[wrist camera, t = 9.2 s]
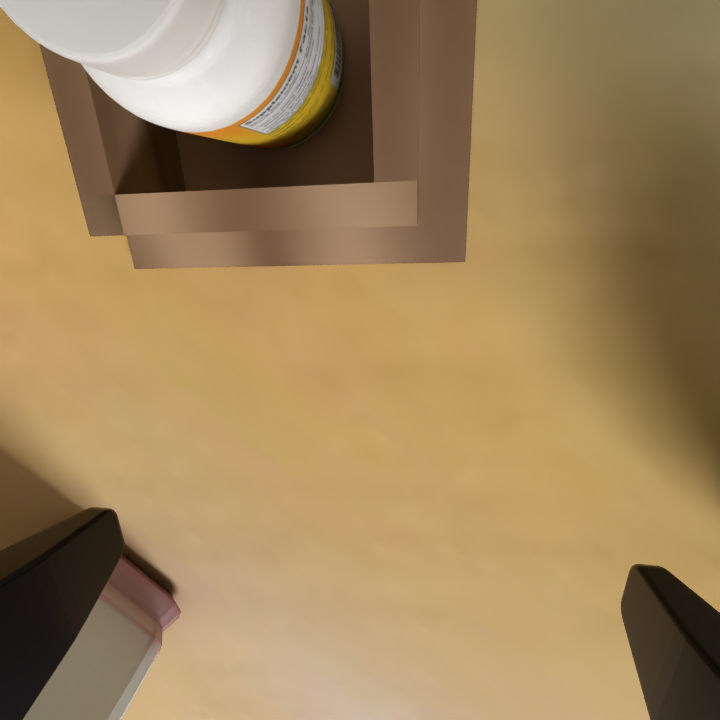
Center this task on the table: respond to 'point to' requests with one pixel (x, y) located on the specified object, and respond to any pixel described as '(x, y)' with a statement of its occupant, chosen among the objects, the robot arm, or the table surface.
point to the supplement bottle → (204, 61)
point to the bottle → (110, 650)
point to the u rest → (296, 158)
